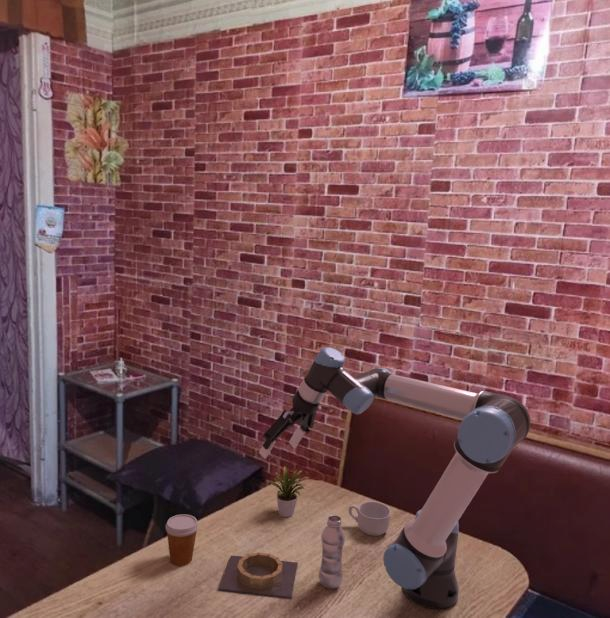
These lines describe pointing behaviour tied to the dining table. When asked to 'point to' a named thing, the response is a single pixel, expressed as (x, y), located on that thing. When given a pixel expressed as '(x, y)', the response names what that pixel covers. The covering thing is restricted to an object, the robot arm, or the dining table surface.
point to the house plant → (288, 492)
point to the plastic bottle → (332, 553)
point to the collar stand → (259, 575)
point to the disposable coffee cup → (181, 538)
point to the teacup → (372, 517)
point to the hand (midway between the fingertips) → (277, 450)
